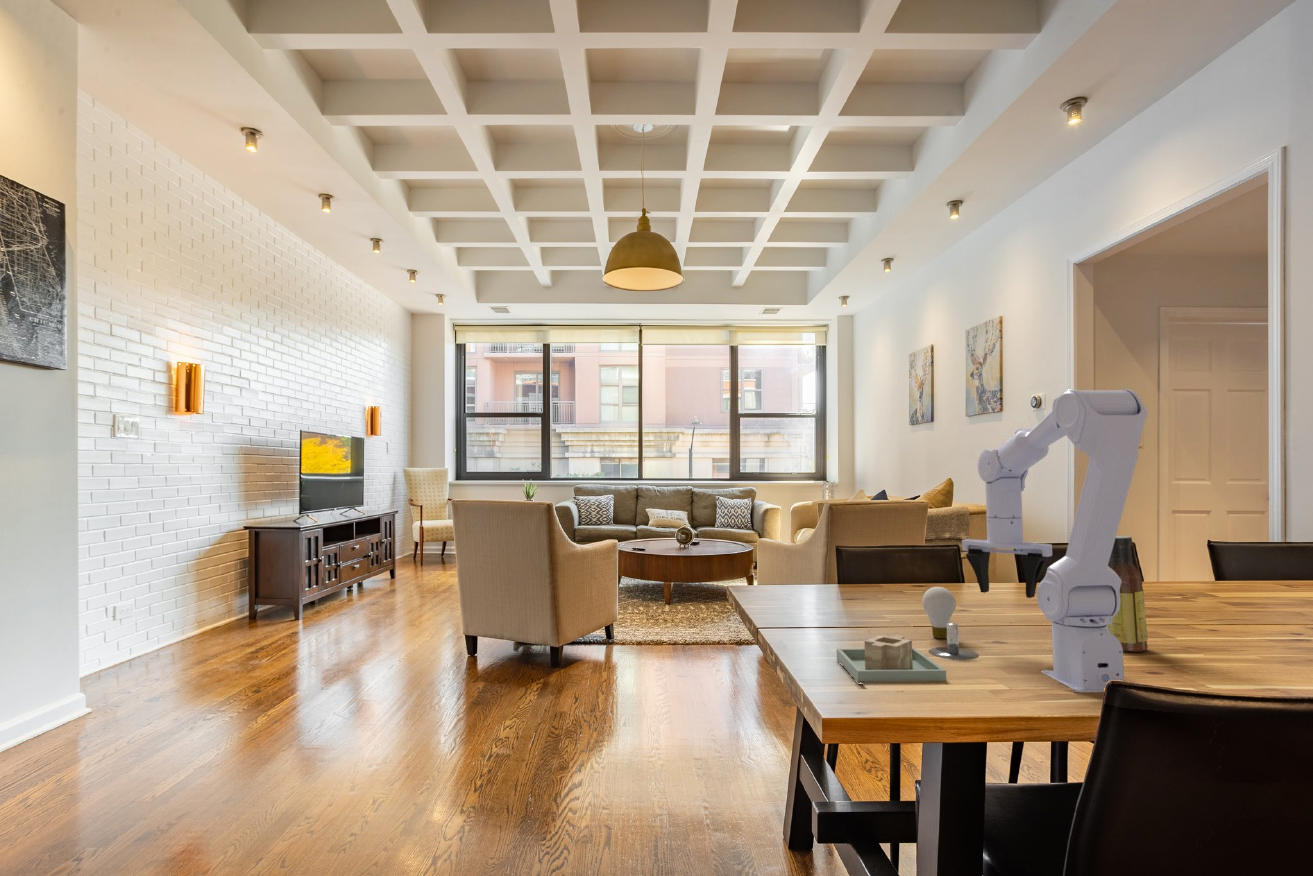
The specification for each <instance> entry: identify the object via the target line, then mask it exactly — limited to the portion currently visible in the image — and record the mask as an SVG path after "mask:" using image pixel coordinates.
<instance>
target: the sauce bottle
mask: <svg viewBox="0 0 1313 876" xmlns="http://www.w3.org/2000/svg"><path fill="white" fill-rule="evenodd" d="M1132 545H1133V538H1132V536H1130V535H1129V536H1128V535H1116V538H1115V541H1114V545H1113V549H1112V552H1111V556H1110V559H1109V563H1108V566H1109V567H1110V568H1111V569H1112V570H1113V571H1114V572H1115V573H1116V574H1117V575H1118V576H1119V578H1120V579H1121V580H1122V582H1121V586H1120V600H1121V603H1120V609H1119V611H1118V613H1117V615H1116V616H1115V617H1113V618H1112V624H1107V626H1108V630H1109V632H1110V633H1111V634H1112V635H1114V636H1115V637H1116V638H1117V639H1118V640H1119V642H1120V643H1121V645H1122V649H1123V652H1130V653H1131V652H1132V653H1139V652H1140V653H1141V652H1145V651H1147V650H1148V647H1149V646H1148V643H1147V642H1148V629H1147V618H1146V617H1147V615H1146V606H1145V604H1146V602H1145V596H1144V595H1145V593H1144V588H1143V578H1142V576H1141V574H1140V571H1139V569H1138V568H1137V567H1136V566H1135V564H1134V560H1133V554H1132V551H1133V550H1132Z"/></svg>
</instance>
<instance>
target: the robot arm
mask: <svg viewBox="0 0 1313 876" xmlns="http://www.w3.org/2000/svg"><path fill="white" fill-rule="evenodd" d="M1051 408H1052V409H1051V410H1050V412H1049V413H1047V414H1046V415H1045V416H1044V417H1043V418H1042V419H1041V420H1040V421H1039V422H1038V423H1037V424H1036V425H1035V426H1034V427H1033V428H1032V429H1031V428H1018V429H1017V430H1015V431H1014V435H1013V436H1011V437H1010V438H1009V439H1008V440H1007V441H1005V442H1003V443H1001V444H1000V446H998V448H996V449H984V450H983V451H982V452H981V453H980V455H979V457H978V460H977V461H978V462H977V470H978V471H977V472H978V475H979V477H980V479H981V480H982V481H983V482H985V504H986V505H985V507H986V508H985V509H986V513H985V514H986V536H987V537H986V538H987V539H967V538H966V539H962V540H961V551H967V553H966V554H965V557H966V559H967V561H968V562H969V564H970V566H971V568H972V569H973V572H974V574H975V577H976V580H977V582H978V587H979V590H980V593H982V594H983V593H984V594H985V593H988V592H989V591H990V579H989V568H990V567H989V566H990V557H991V553H998V554H999V553H1000V554H1013V555H1026V556H1022V564H1023V569H1024V577H1025V596H1026V597H1025V598H1028V599H1032V598H1035V596H1036V601H1037V603H1038V606H1039V609H1040V610H1041V612H1042V613H1043V615H1044V616H1045V617H1046V620H1048V621H1050V622H1051V636H1052V637H1051V641H1052V643H1051V644H1052V661H1053V663H1052V664H1053V670H1041V673H1042V674H1044V675H1046V676H1048V677H1049V678H1052V679H1054V680H1055V681H1057V682H1059V683H1061V684H1063V685H1065V686H1066V687H1069V689H1071V690H1072V692H1075V693H1105V692H1104V688H1105V686H1106V683H1107V682H1108V681H1110V680H1124V681H1125V666H1124V665H1125V663H1124V651H1123V649H1122V645H1121V643H1120V642H1119V640H1118V639H1117V638H1116V637H1115V636H1114V635H1112V634H1111V633H1110V632H1109V630H1108V626H1107V624H1112V618H1113V617H1115V616H1116V615H1117V613H1118V611H1119V609H1120V603H1121V600H1120V586H1121V582H1122V580H1121V579H1120V578H1119V576H1118V575H1117V574H1116V573H1115V572H1114V571H1113V570H1112V569H1111V568H1110V567H1109V566H1108V563H1109V559H1110V556H1111V552H1112V549H1113V545H1114V541H1115V538H1116V536H1117V534H1118V531H1119V530H1118V529H1119V526H1120V523H1121V521H1122V520H1121V519H1122V515H1123V513H1124V509H1125V505H1126V501H1127V497H1128V495H1129V490H1130V487H1131V484H1132V480H1133V477H1134V476H1133V475H1134V472H1135V469H1136V467H1137V461H1138V458H1139V457H1138V456H1139V446H1140V441H1141V438H1142V435H1143V431H1144V428H1145V424H1146V420H1147V417H1148V416H1147V415H1148V409H1146V407H1145V405H1144V402H1143V401H1142V399H1141V398H1140V396H1139V394H1137V392H1135V391H1134V390H1132V389H1128V388H1127V389H1126V388H1122V389H1118V390H1117V389H1116V390H1114V389H1110V390H1106V389H1104V390H1103V389H1101V390H1100V389H1099V390H1098V389H1096V390H1095V389H1094V390H1093V389H1090V390H1089V389H1086V390H1085V389H1084V390H1083V389H1082V390H1081V389H1080V390H1079V389H1075V388H1069V389H1066V390H1064V391H1062V392H1061V394H1060V395H1059V396H1057V397H1056V398H1054V399H1053V402H1052V407H1051ZM1064 437H1067V438H1068V439H1069V441H1070V442H1071V443H1072V444H1073V446H1074V447H1075V448H1076V449H1077V450H1078V451H1080V452H1082V453H1084V454H1086V456H1087V457H1088V460H1089V462H1088V465H1087V469H1086V473H1085V478H1084V480H1083V485H1082V489H1081V494H1080V497H1079V501H1078V504H1077V509H1076V512H1075V517H1074V521H1073V524H1072V529H1071V532H1070V537H1069V540H1068V544H1067V547H1066V548H1067V549H1066V553H1065V555H1064V556H1063V557H1062V558H1060V559H1058V560H1057V561H1055V562H1053V563H1052V564H1051V565H1049V566H1048V567H1047V568H1046V569H1047V570H1046V573H1045V576H1044V577H1043V579H1042V580H1041V581H1040V583H1039V584H1038V581H1039V579H1040V576H1041V573H1042V570H1043V569H1044V566H1045V565H1046V563H1047V561H1048V558H1049V557H1052V556H1053V544H1049V543H1037V542H1026V541H1024V527H1023V525H1024V522H1023V520H1024V519H1023V499H1022V498H1023V497H1022V492H1024V491H1025V488H1026V486H1025V482H1026V479H1027V476H1028V475H1029V469H1030V468H1031V467H1033V466H1034V465H1036V464H1038V463H1039V462H1040V461H1041V460H1042V459H1044V458H1045V457H1046V456H1047V455H1048V453H1049V446H1050V445H1052V444H1053V443H1055V442H1057V441H1059V440H1060V439H1062V438H1064ZM1037 584H1038V587H1037ZM1036 588H1037V591H1036ZM1035 594H1036V595H1035Z"/></svg>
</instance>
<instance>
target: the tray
mask: <svg viewBox="0 0 1313 876" xmlns="http://www.w3.org/2000/svg"><path fill="white" fill-rule="evenodd" d="M837 660H838V661H839V662H840V663H841V664H842V665H843V666H844V668H845V669H846V670H847V671H848V672H849V673H850V675H852V677H853V678H854V679H855V680H856V681H857V682H858V683H860V682H861V683H865V682H868V683H869V682H878V683H879V682H882V683H884V682H947V670H946V669H945V668H943V667H942V666H940V665H939V664H938V663H937V662H935V661H934V660H932V659H931V658H929V657H928V656H926V655H925V654H924V653H922V652H921V651H920V650H919V649H917V648H916V647H914V648H913V647H912V663H913V668H912V669H910V670H869V669H865V648H836V661H837ZM838 661H837V662H838ZM844 668H843V669H844ZM845 669H844V670H845ZM846 670H845V671H846ZM850 675H849V676H850ZM852 677H851V678H852ZM853 678H852V679H853ZM854 679H853V680H854Z"/></svg>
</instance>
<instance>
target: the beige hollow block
mask: <svg viewBox="0 0 1313 876" xmlns="http://www.w3.org/2000/svg"><path fill="white" fill-rule="evenodd" d="M912 648H913V639H908V638H907V639H906V638H905V636H903V635H896V634H894V635H892V636H889V635H884V634H883V635H882V634H879V635H876V636H874V637H871V638H868V639H866V640H864V649H865V669H869V670H910V669H912V668H913V663H912Z"/></svg>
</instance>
